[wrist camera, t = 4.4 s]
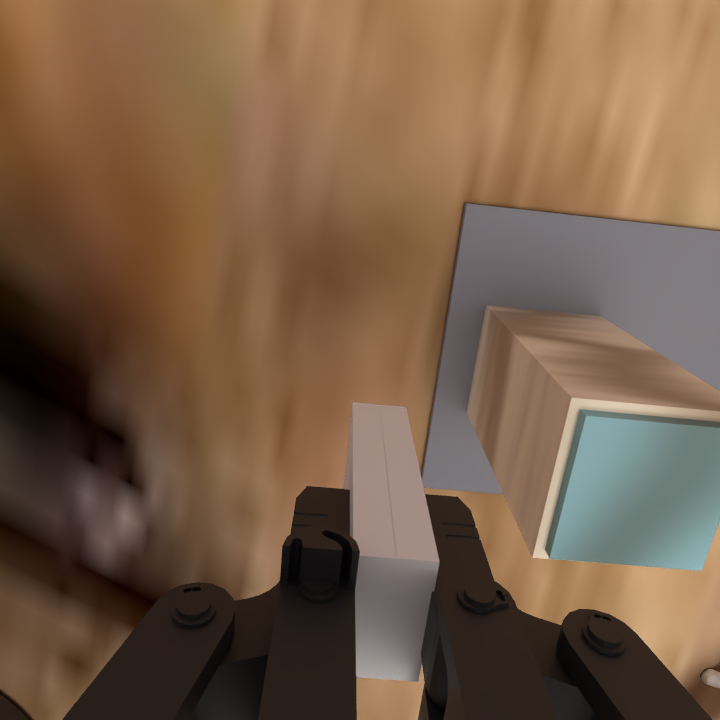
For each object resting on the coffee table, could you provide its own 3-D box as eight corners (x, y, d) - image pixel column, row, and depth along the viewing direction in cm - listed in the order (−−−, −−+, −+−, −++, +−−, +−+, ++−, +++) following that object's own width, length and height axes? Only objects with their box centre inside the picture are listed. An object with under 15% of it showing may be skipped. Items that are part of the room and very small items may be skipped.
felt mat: (419, 482, 28) (420, 487, 27) (464, 202, 24) (466, 203, 23) (858, 520, 29) (865, 524, 28) (977, 259, 25) (986, 260, 24)
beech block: (466, 412, 26) (536, 566, 16) (486, 304, 25) (577, 403, 15) (574, 422, 26) (708, 580, 17) (601, 316, 25) (767, 421, 15)
